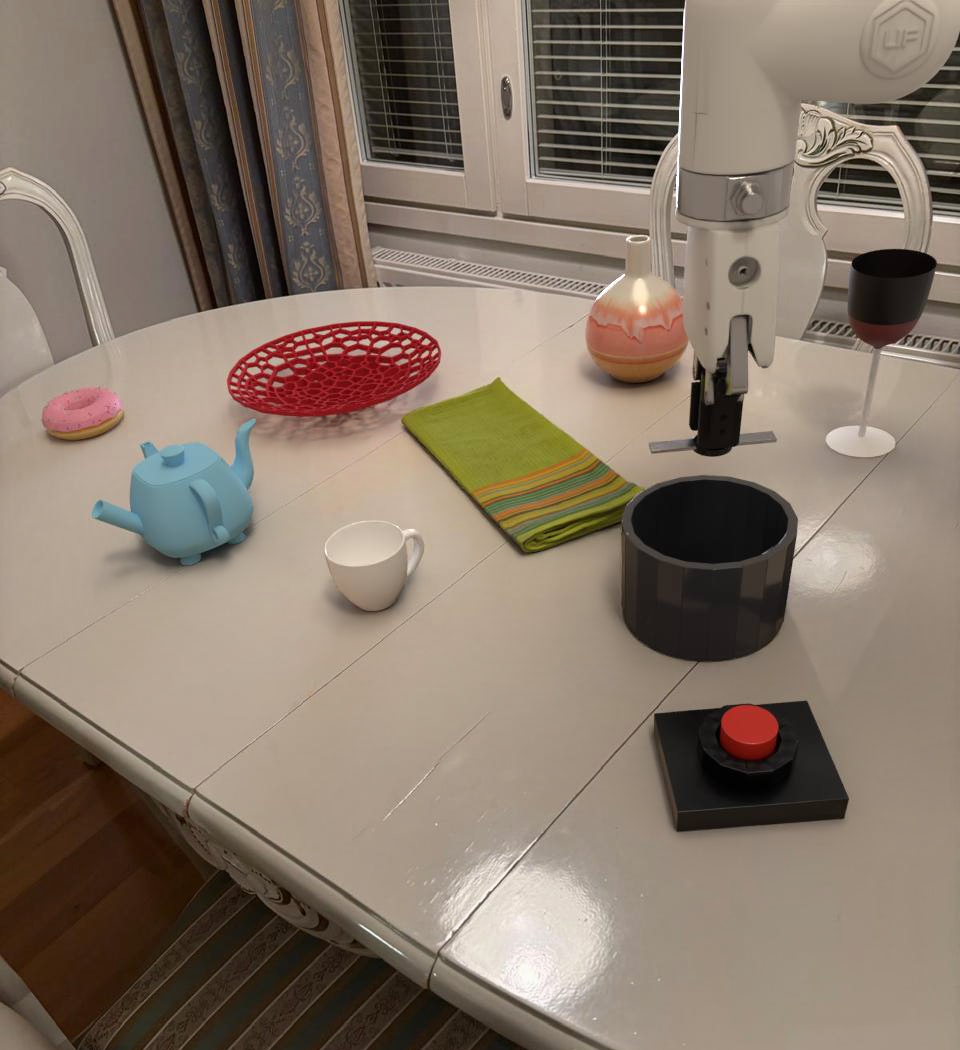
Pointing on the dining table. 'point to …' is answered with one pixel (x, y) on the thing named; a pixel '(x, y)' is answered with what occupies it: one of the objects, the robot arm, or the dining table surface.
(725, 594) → the dark grey round bin
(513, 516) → the dish towel
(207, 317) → the dining table surface
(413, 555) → the cup
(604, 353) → the vase
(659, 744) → the base unit
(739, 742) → the button
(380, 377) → the bowl
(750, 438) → the blade
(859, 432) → the wineglass
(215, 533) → the teapot
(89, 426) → the doughnut
